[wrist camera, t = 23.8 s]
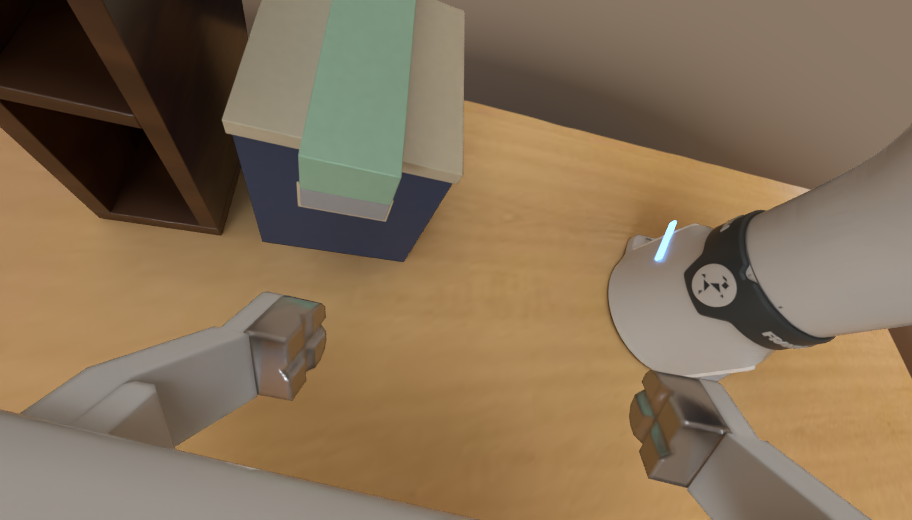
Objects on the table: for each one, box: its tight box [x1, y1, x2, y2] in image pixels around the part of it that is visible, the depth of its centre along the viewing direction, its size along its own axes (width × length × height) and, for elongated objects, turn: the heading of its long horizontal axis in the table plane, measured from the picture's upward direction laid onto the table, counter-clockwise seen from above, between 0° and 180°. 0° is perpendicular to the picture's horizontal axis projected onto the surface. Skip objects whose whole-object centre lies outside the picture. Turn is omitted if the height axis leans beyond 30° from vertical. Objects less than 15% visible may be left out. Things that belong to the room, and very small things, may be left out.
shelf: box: [0, 0, 248, 235], centre depth 20 cm, size 14×8×26 cm, turn 176°
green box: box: [298, 0, 416, 220], centre depth 21 cm, size 22×4×4 cm, turn 179°
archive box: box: [222, 0, 465, 262], centre depth 29 cm, size 14×12×15 cm
